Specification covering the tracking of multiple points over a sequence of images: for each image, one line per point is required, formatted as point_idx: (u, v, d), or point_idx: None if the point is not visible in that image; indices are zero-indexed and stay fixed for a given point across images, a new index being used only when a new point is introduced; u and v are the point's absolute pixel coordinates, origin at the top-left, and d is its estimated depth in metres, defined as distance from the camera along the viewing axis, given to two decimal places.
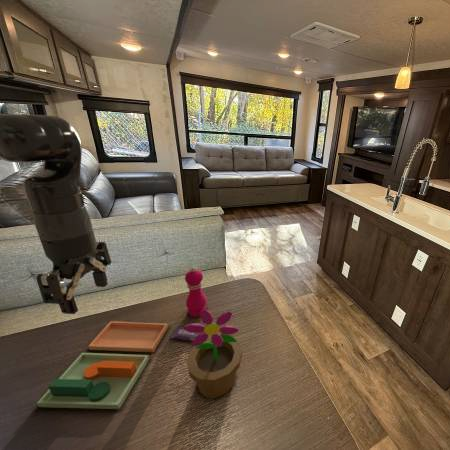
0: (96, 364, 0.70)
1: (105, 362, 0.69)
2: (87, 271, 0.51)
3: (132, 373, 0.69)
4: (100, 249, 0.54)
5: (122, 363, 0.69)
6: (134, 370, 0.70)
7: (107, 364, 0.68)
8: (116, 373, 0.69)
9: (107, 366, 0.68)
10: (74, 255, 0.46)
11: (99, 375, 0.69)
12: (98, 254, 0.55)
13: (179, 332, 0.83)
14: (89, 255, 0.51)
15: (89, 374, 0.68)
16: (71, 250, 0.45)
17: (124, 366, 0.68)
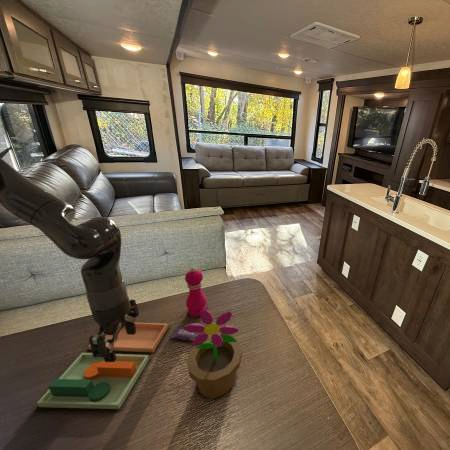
0: (96, 364, 0.70)
1: (105, 362, 0.69)
2: (122, 326, 0.64)
3: (132, 373, 0.69)
4: (131, 305, 0.67)
5: (122, 363, 0.69)
6: (134, 370, 0.70)
7: (107, 364, 0.68)
8: (116, 373, 0.69)
9: (107, 366, 0.68)
10: (115, 319, 0.59)
11: (99, 375, 0.69)
12: (129, 309, 0.68)
13: (179, 332, 0.83)
14: None
15: (89, 374, 0.68)
16: (113, 315, 0.58)
17: (124, 366, 0.68)
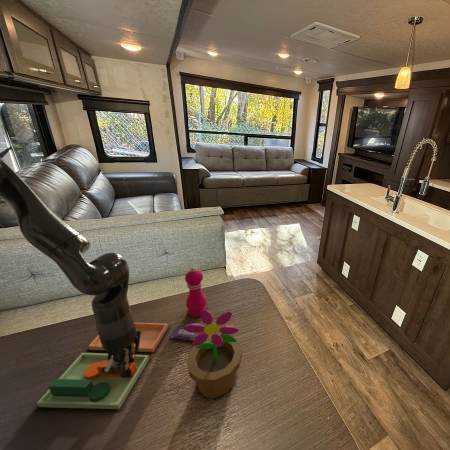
0: (96, 364, 0.70)
1: (105, 362, 0.69)
2: (129, 351, 0.68)
3: (132, 373, 0.69)
4: (136, 336, 0.71)
5: None
6: (134, 370, 0.70)
7: None
8: None
9: None
10: (123, 346, 0.62)
11: (99, 375, 0.69)
12: None
13: (179, 332, 0.83)
14: None
15: (89, 374, 0.68)
16: (121, 344, 0.62)
17: None
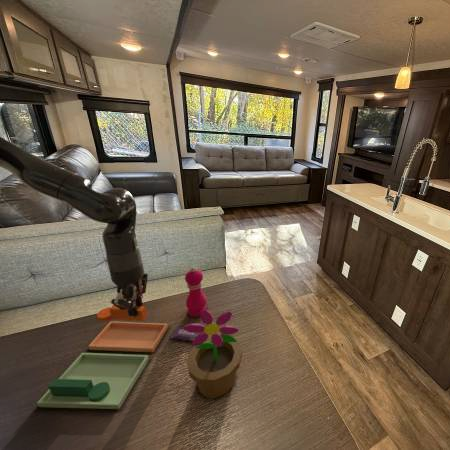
0: (108, 308, 0.74)
1: None
2: (136, 290, 0.71)
3: (143, 316, 0.73)
4: (143, 278, 0.74)
5: None
6: (144, 314, 0.74)
7: None
8: (127, 316, 0.72)
9: None
10: (131, 281, 0.65)
11: (111, 317, 0.72)
12: None
13: (179, 332, 0.83)
14: None
15: (102, 316, 0.72)
16: (130, 277, 0.65)
17: None
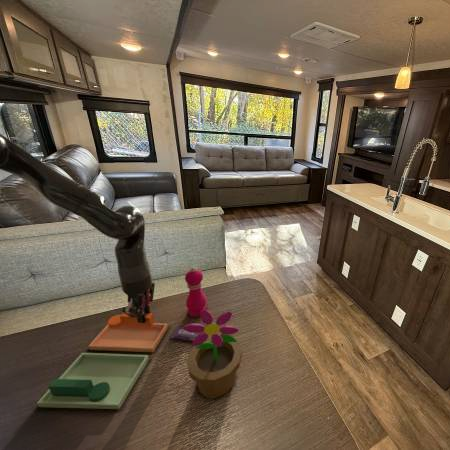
0: (118, 316, 0.80)
1: None
2: (145, 299, 0.76)
3: (150, 323, 0.78)
4: (151, 287, 0.79)
5: None
6: (152, 321, 0.79)
7: None
8: (136, 323, 0.78)
9: None
10: (141, 291, 0.71)
11: (121, 324, 0.78)
12: None
13: (179, 332, 0.83)
14: None
15: (113, 322, 0.77)
16: (139, 288, 0.70)
17: None
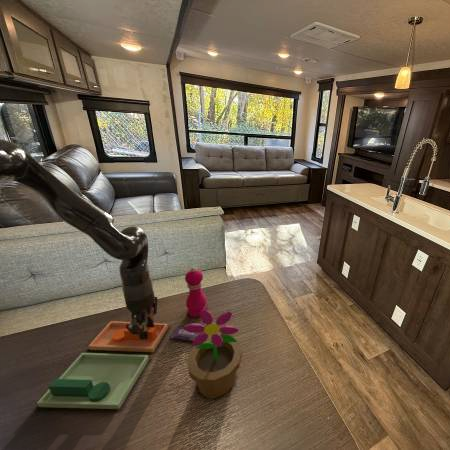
0: (122, 330, 0.82)
1: None
2: (148, 314, 0.79)
3: (153, 337, 0.81)
4: (153, 301, 0.82)
5: None
6: (155, 334, 0.81)
7: None
8: None
9: None
10: (144, 308, 0.73)
11: (125, 338, 0.80)
12: (151, 305, 0.82)
13: (179, 332, 0.83)
14: None
15: (117, 337, 0.79)
16: (143, 305, 0.73)
17: (147, 330, 0.80)
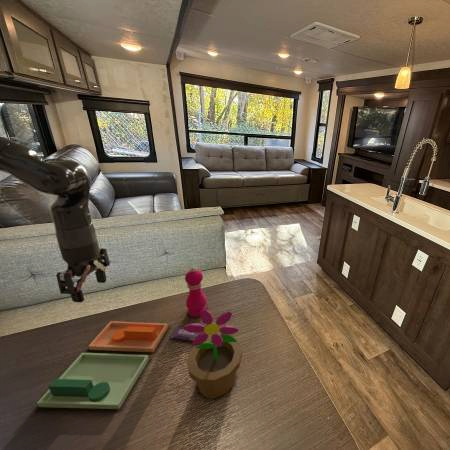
0: (122, 330, 0.82)
1: (130, 327, 0.80)
2: (92, 270, 0.68)
3: (153, 337, 0.81)
4: (102, 254, 0.71)
5: (145, 328, 0.81)
6: (155, 334, 0.81)
7: (132, 329, 0.80)
8: (139, 337, 0.80)
9: (132, 330, 0.79)
10: (83, 259, 0.62)
11: (125, 338, 0.80)
12: (100, 257, 0.72)
13: (179, 332, 0.83)
14: (93, 258, 0.68)
15: (117, 337, 0.79)
16: (81, 255, 0.62)
17: (147, 330, 0.80)
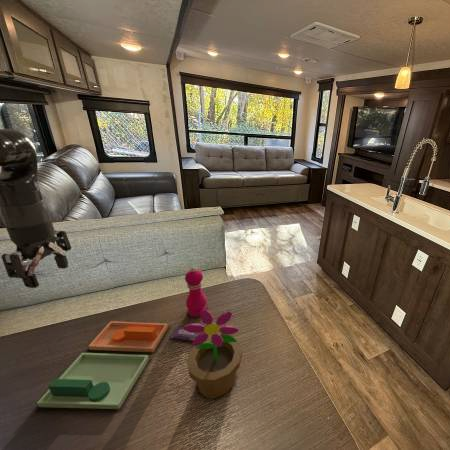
0: (122, 330, 0.82)
1: (130, 327, 0.80)
2: (47, 254, 0.62)
3: (153, 337, 0.81)
4: (60, 237, 0.66)
5: (145, 328, 0.81)
6: (155, 334, 0.81)
7: (132, 329, 0.80)
8: (139, 337, 0.80)
9: (132, 330, 0.79)
10: (33, 239, 0.57)
11: (125, 338, 0.80)
12: (59, 241, 0.67)
13: (179, 332, 0.83)
14: (49, 241, 0.62)
15: (117, 337, 0.79)
16: (31, 235, 0.57)
17: (147, 330, 0.80)
